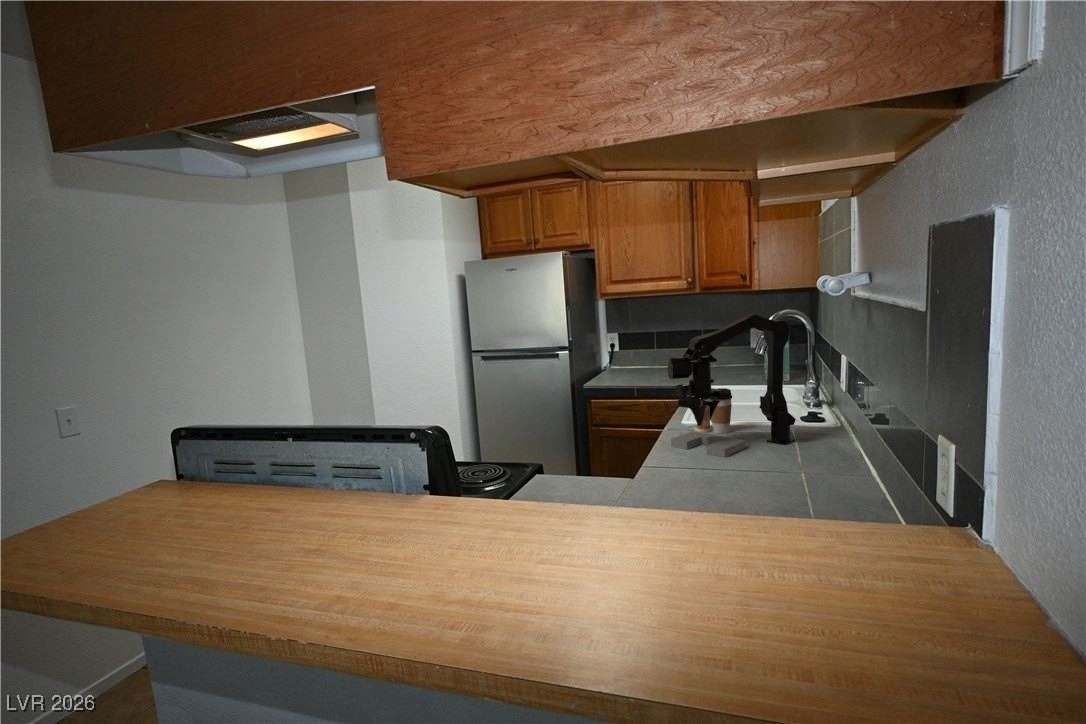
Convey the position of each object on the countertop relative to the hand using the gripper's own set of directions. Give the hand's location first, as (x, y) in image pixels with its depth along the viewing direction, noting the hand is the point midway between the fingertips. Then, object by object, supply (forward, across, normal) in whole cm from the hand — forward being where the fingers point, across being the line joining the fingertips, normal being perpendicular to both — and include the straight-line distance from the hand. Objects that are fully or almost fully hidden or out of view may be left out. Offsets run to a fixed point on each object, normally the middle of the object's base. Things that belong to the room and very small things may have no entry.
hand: (703, 424), depth 179 cm
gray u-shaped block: (+8, -2, 0) cm, 8 cm away
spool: (+2, 0, 0) cm, 2 cm away
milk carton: (+8, -122, -38) cm, 128 cm away
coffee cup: (+8, -21, -7) cm, 24 cm away
